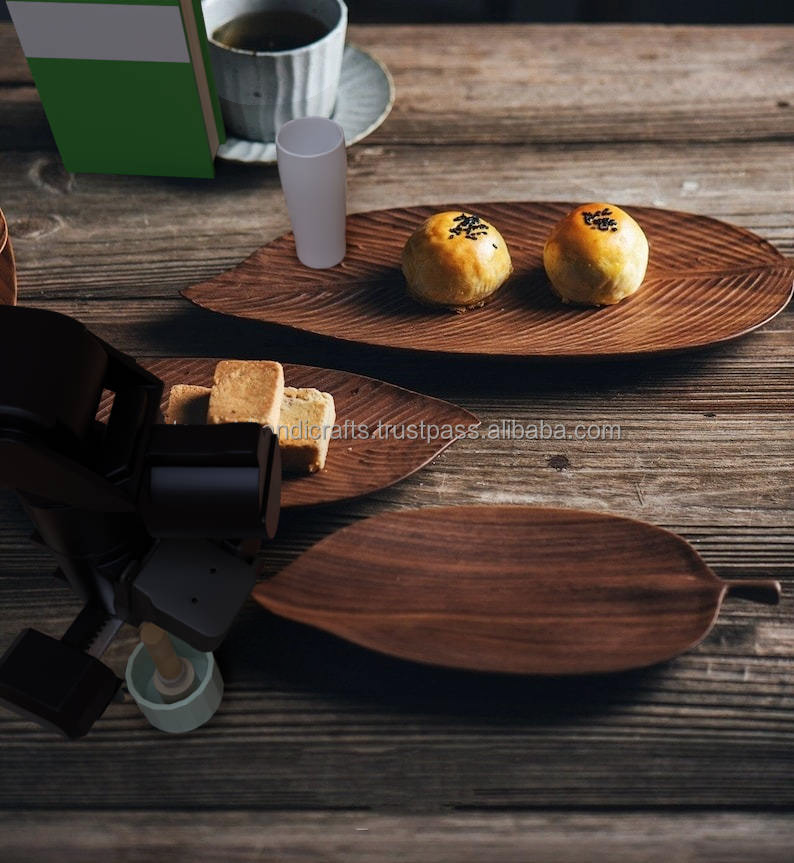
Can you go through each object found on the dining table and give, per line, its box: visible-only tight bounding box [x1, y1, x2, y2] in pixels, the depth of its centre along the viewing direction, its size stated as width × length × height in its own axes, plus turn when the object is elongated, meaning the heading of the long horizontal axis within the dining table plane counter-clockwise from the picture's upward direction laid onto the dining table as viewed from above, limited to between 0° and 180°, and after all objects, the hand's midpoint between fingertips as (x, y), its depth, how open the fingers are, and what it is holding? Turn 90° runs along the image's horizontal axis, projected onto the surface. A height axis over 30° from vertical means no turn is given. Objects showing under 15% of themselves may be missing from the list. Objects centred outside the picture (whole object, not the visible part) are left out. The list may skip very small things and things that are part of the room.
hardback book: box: [5, 0, 228, 179], centre depth 102 cm, size 18×7×24 cm, turn 85°
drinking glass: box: [274, 115, 348, 270], centre depth 94 cm, size 7×7×15 cm
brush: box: [139, 622, 201, 704], centre depth 66 cm, size 3×3×10 cm
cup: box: [124, 631, 225, 734], centre depth 68 cm, size 6×6×5 cm
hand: (156, 637), depth 63 cm, fingers open, 9 cm apart
